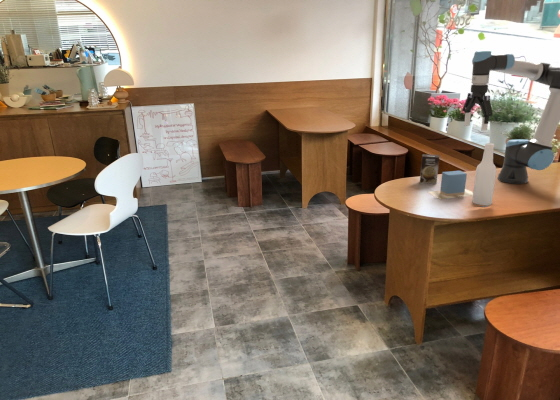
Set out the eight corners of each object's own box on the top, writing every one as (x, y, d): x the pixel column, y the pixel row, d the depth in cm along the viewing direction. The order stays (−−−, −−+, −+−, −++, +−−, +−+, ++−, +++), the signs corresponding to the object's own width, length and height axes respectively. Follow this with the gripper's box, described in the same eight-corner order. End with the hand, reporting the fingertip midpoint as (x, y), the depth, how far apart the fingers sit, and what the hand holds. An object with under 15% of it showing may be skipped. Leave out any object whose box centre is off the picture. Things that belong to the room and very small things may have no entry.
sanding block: (457, 190, 235) (459, 170, 231) (464, 194, 229) (466, 173, 226) (440, 192, 233) (442, 172, 229) (446, 196, 227) (448, 175, 224)
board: (464, 190, 239) (464, 188, 239) (478, 197, 228) (478, 195, 228) (426, 193, 235) (427, 191, 235) (439, 201, 224) (439, 199, 224)
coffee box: (419, 184, 250) (421, 156, 245) (419, 181, 256) (422, 153, 251) (436, 185, 247) (439, 157, 242) (436, 182, 253) (439, 154, 248)
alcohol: (469, 201, 223) (477, 141, 213) (487, 201, 222) (496, 141, 212) (474, 207, 215) (483, 145, 205) (494, 207, 214) (503, 145, 204)
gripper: (457, 82, 227) (453, 124, 234) (489, 87, 204) (484, 133, 211) (470, 81, 228) (466, 123, 236) (504, 85, 206) (498, 131, 213)
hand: (475, 128), depth 223 cm, fingers open, 13 cm apart
